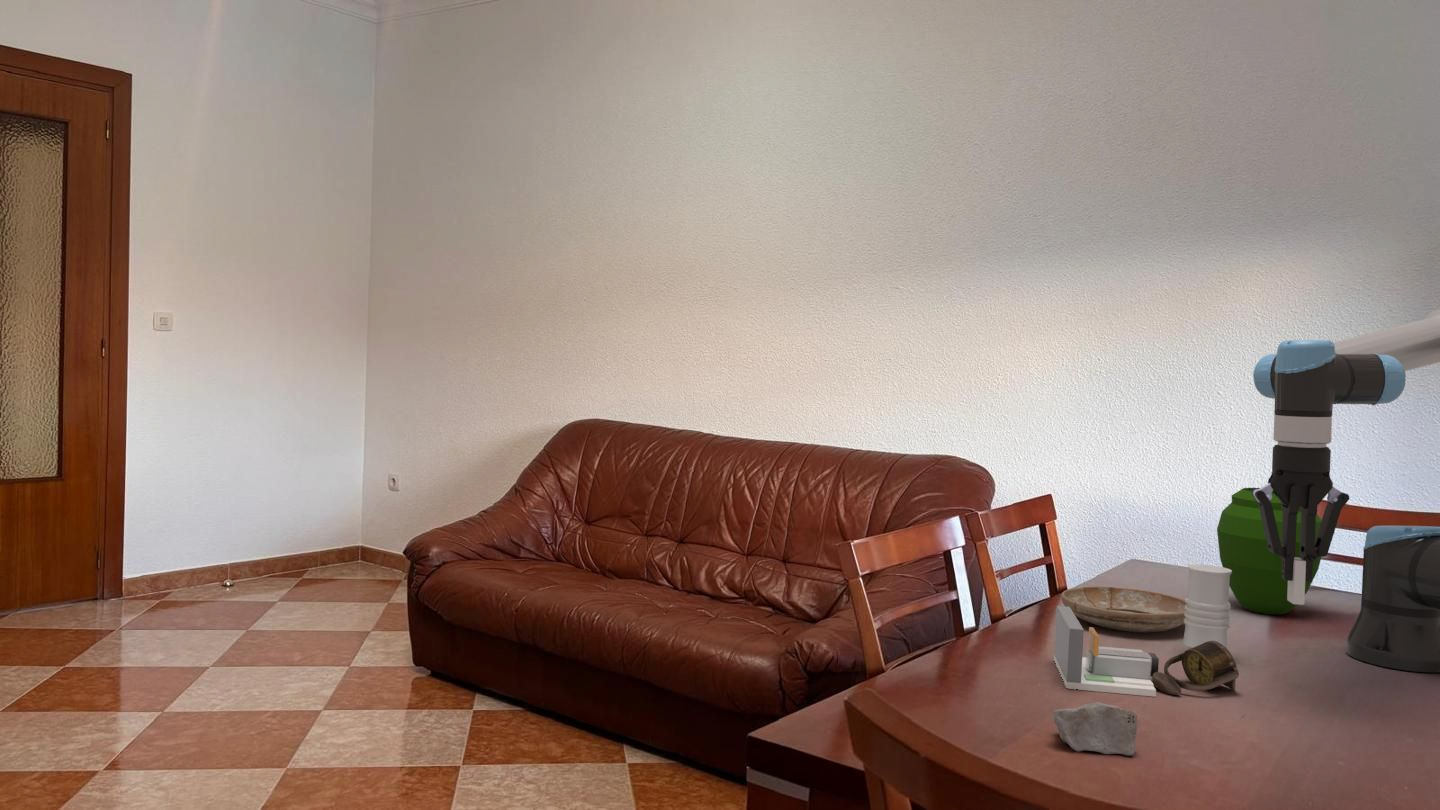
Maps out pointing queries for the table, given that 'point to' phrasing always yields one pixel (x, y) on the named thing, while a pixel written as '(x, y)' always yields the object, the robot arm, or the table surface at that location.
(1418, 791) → the table surface
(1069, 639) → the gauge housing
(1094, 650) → the grey metal bar
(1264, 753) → the table surface
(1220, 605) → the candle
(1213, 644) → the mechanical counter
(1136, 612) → the ceramic bowl
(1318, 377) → the robot arm
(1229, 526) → the vase
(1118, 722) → the stone
